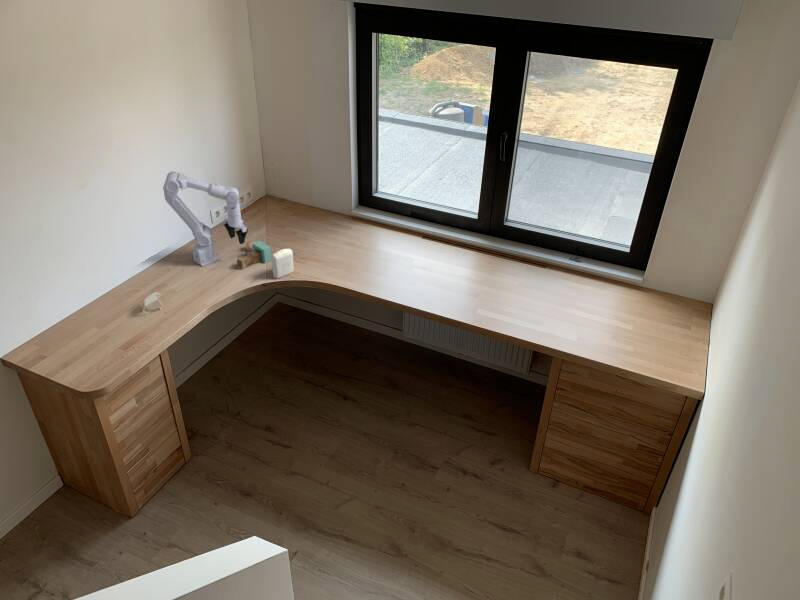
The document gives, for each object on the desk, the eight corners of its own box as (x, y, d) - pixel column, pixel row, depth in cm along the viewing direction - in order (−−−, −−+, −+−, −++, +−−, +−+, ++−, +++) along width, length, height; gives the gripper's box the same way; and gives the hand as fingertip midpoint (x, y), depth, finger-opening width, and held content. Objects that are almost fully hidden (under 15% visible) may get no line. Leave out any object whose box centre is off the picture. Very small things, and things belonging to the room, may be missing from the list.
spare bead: (250, 253, 298) (249, 246, 296) (245, 250, 300) (244, 243, 298) (258, 250, 300) (257, 243, 298) (252, 247, 303) (251, 240, 301)
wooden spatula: (241, 269, 285) (240, 261, 283) (237, 267, 287) (236, 259, 284) (272, 256, 296) (272, 248, 294) (268, 253, 298) (268, 246, 296)
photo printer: (289, 268, 288) (288, 245, 281) (295, 271, 285) (293, 248, 278) (271, 276, 281) (269, 252, 274) (277, 279, 279) (275, 256, 272)
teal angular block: (265, 263, 291) (263, 250, 287) (253, 256, 295) (252, 243, 291) (272, 260, 293) (270, 247, 289) (260, 253, 298) (258, 240, 294)
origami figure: (163, 314, 254) (161, 305, 251) (141, 316, 253) (139, 306, 250) (167, 298, 264) (165, 289, 261) (147, 299, 262) (144, 290, 260)
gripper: (251, 216, 280) (253, 243, 287) (232, 206, 288) (235, 232, 295) (237, 221, 275) (240, 248, 283) (219, 210, 283) (222, 236, 291)
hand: (237, 240), depth 289 cm, fingers open, 7 cm apart
